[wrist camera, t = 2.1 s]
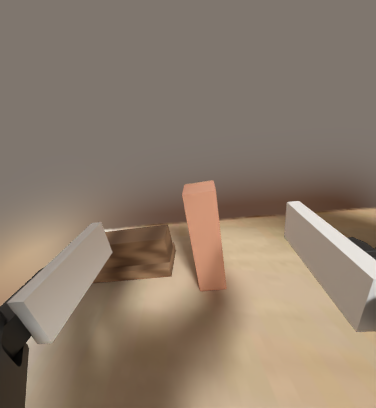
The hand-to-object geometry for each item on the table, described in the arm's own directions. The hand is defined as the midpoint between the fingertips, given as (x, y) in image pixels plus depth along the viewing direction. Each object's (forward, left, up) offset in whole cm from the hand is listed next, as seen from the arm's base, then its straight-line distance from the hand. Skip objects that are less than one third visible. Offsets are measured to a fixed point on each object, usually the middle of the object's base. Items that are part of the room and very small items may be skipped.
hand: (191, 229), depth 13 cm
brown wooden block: (+16, -16, -17) cm, 28 cm away
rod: (-1, -11, -17) cm, 20 cm away
